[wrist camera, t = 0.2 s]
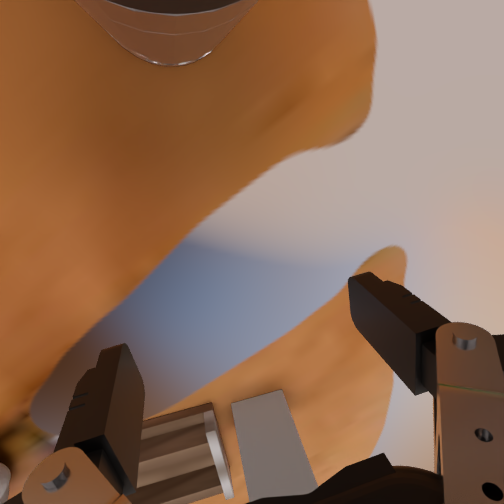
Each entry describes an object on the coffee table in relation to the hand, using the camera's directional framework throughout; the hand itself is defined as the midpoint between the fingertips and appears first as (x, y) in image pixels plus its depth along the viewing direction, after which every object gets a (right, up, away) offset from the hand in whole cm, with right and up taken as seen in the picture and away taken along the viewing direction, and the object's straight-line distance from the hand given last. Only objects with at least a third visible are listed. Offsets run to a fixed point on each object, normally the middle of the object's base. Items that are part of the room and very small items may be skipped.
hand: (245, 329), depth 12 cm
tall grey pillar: (+1, -15, +27) cm, 32 cm away
